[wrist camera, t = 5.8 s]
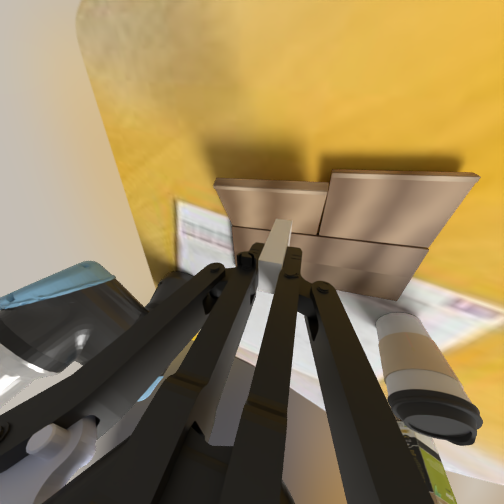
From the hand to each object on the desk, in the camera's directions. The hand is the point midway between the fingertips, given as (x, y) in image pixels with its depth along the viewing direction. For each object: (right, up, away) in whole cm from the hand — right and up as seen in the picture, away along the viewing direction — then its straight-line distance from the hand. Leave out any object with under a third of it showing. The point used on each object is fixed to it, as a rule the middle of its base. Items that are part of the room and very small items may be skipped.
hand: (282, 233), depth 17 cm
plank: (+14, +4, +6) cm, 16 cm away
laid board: (+7, -3, +14) cm, 16 cm away
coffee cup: (+24, -15, +17) cm, 33 cm away
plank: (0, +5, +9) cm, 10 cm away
